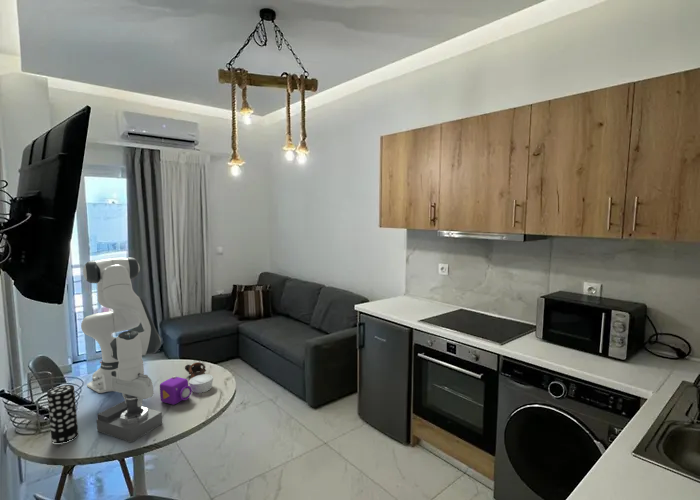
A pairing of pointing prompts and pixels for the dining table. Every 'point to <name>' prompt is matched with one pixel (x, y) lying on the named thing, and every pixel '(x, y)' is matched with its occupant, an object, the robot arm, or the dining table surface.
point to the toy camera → (174, 390)
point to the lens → (132, 404)
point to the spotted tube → (62, 413)
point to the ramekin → (201, 383)
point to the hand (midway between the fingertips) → (133, 404)
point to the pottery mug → (195, 369)
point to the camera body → (127, 422)
